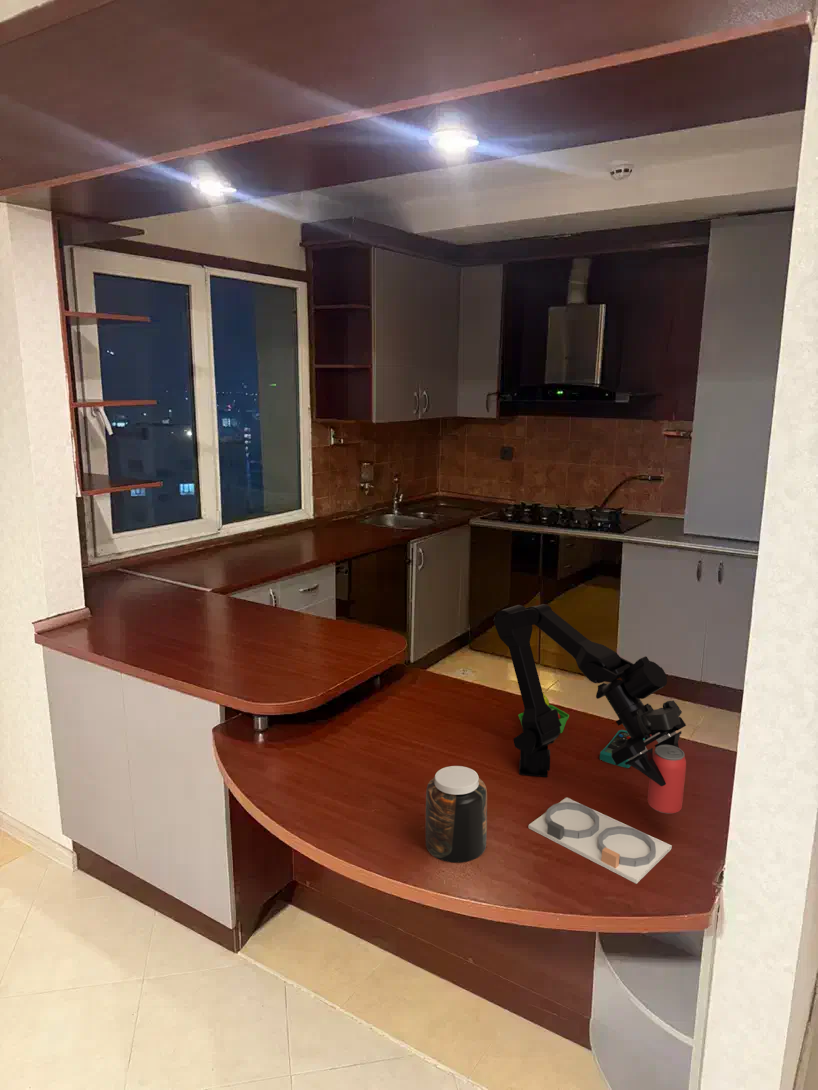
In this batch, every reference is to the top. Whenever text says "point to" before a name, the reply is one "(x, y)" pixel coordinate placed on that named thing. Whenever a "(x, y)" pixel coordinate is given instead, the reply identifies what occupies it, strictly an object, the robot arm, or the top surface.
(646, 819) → the top surface
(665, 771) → the beer can
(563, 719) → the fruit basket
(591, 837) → the board
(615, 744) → the digital multimeter
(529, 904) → the top surface
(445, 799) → the jar
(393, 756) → the top surface
